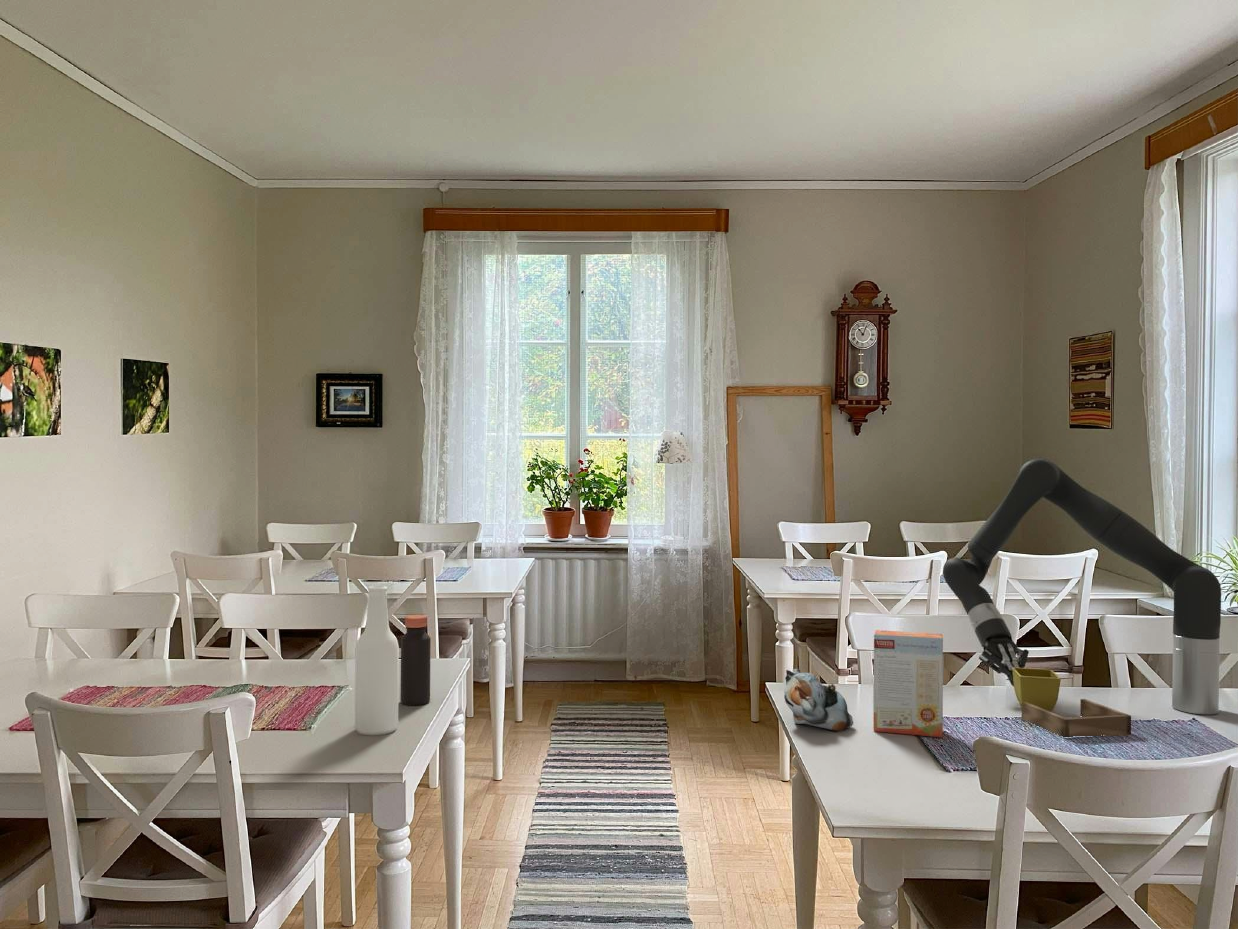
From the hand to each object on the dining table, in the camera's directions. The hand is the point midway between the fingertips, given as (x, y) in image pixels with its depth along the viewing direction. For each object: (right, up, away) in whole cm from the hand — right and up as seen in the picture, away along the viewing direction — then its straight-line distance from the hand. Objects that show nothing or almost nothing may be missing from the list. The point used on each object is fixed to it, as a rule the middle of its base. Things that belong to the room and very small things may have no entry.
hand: (1019, 686), depth 219 cm
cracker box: (-34, -4, -23) cm, 41 cm away
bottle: (-142, -3, -3) cm, 142 cm away
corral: (+4, -4, -17) cm, 18 cm away
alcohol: (-146, -3, -25) cm, 148 cm away
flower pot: (+1, -5, -6) cm, 7 cm away
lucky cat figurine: (-52, -4, -19) cm, 55 cm away
